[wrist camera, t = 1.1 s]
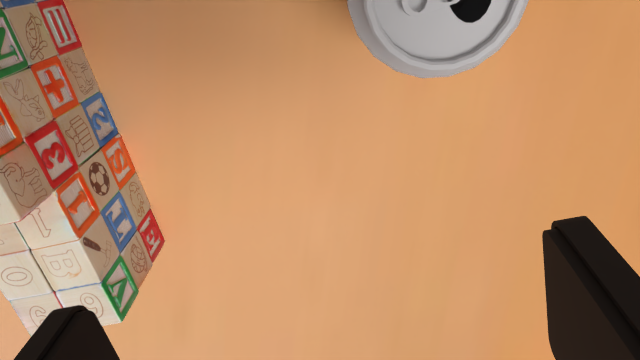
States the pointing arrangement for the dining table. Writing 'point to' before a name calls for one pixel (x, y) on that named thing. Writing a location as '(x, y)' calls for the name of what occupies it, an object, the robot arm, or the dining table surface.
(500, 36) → the can
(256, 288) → the dining table surface
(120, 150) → the stack of blocks
